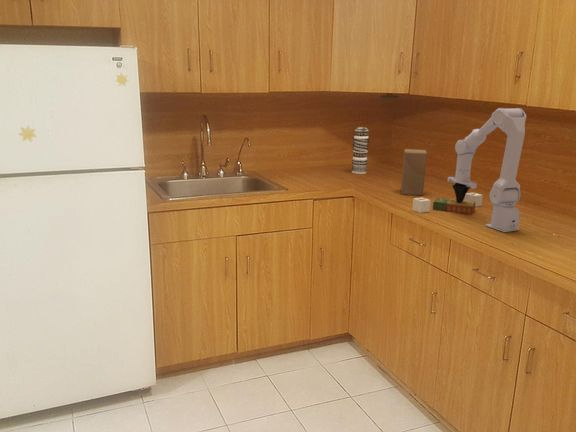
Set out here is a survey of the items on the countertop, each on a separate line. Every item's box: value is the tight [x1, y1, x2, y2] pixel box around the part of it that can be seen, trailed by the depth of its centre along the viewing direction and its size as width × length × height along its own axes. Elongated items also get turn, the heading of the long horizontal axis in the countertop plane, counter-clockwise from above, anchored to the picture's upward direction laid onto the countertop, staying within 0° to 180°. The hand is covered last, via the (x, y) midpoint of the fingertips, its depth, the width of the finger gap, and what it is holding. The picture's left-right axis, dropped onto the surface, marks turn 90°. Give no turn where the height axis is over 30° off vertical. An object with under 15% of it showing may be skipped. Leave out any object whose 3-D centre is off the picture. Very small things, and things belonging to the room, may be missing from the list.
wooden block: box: [400, 148, 428, 196], centre depth 253 cm, size 10×10×20 cm
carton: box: [432, 197, 476, 216], centre depth 226 cm, size 8×16×4 cm, turn 65°
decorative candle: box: [351, 126, 370, 175], centre depth 299 cm, size 9×9×25 cm
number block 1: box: [412, 197, 432, 214], centre depth 223 cm, size 5×5×5 cm
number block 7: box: [464, 192, 484, 208], centre depth 235 cm, size 5×5×5 cm
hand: (459, 201), depth 223 cm, fingers closed
